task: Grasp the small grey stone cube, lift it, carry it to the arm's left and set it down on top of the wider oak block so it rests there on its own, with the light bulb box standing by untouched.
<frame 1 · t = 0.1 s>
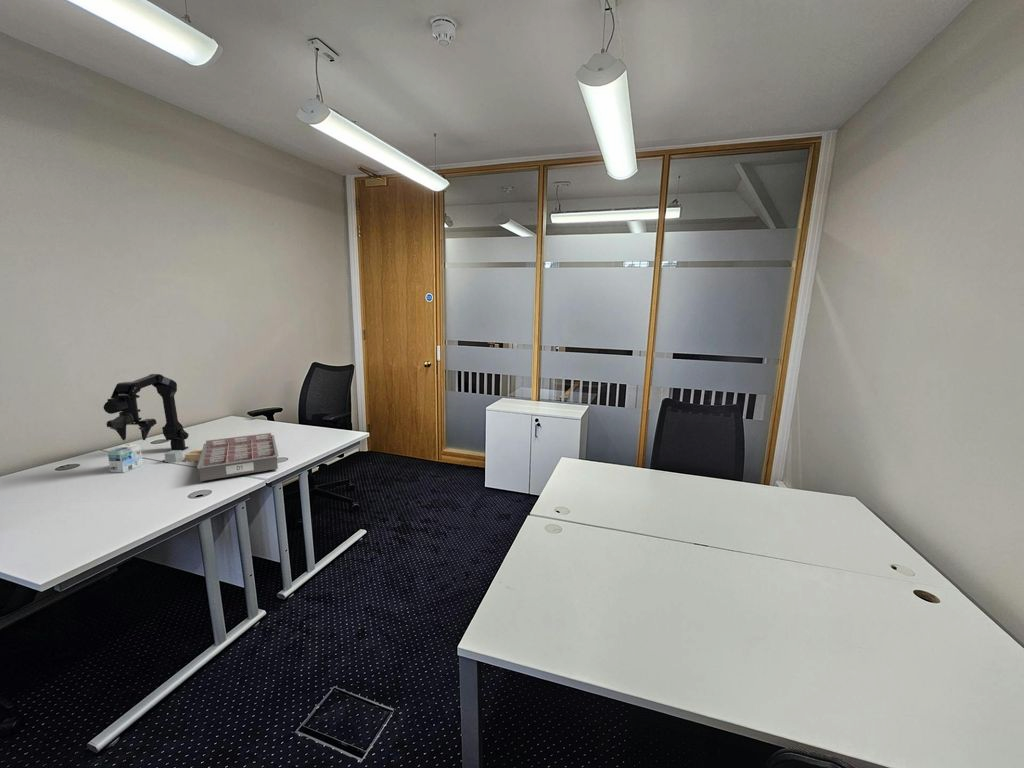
hand: (134, 440, 200), 15 cm above the table, fingers open, 9 cm apart
stone cube: (174, 461, 213), on the table
oak block: (199, 459, 217), on the table
light bulb box: (127, 469, 202), on the table
organizer tray: (241, 465, 210), on the table
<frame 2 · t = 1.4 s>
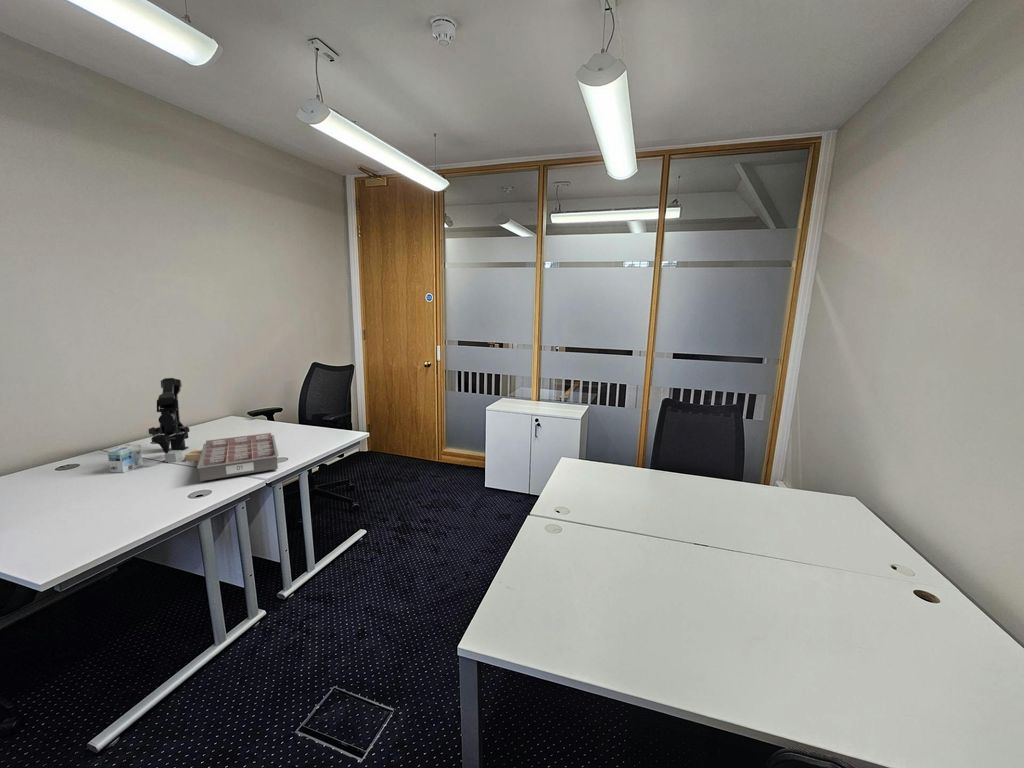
hand: (173, 450, 212), 6 cm above the table, fingers open, 9 cm apart
nothing on the table moved.
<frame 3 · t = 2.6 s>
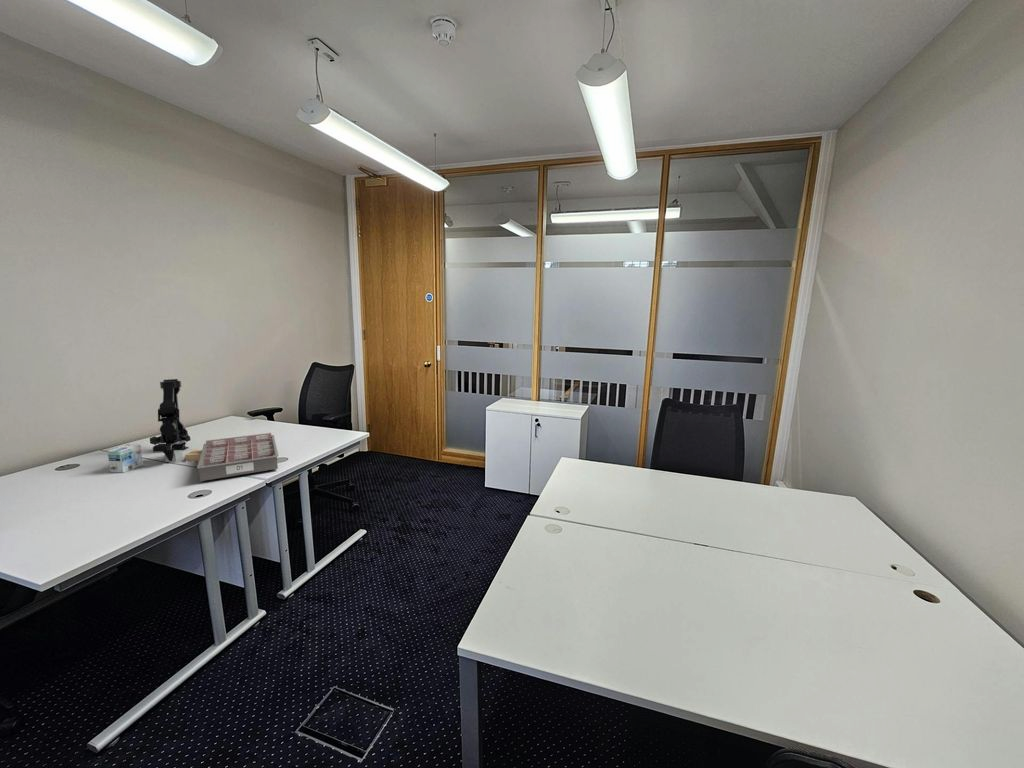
hand: (174, 459, 213), 1 cm above the table, fingers closed on stone cube, 5 cm apart
stone cube: (174, 461, 213), on the table, touching gripper
everything else where it was.
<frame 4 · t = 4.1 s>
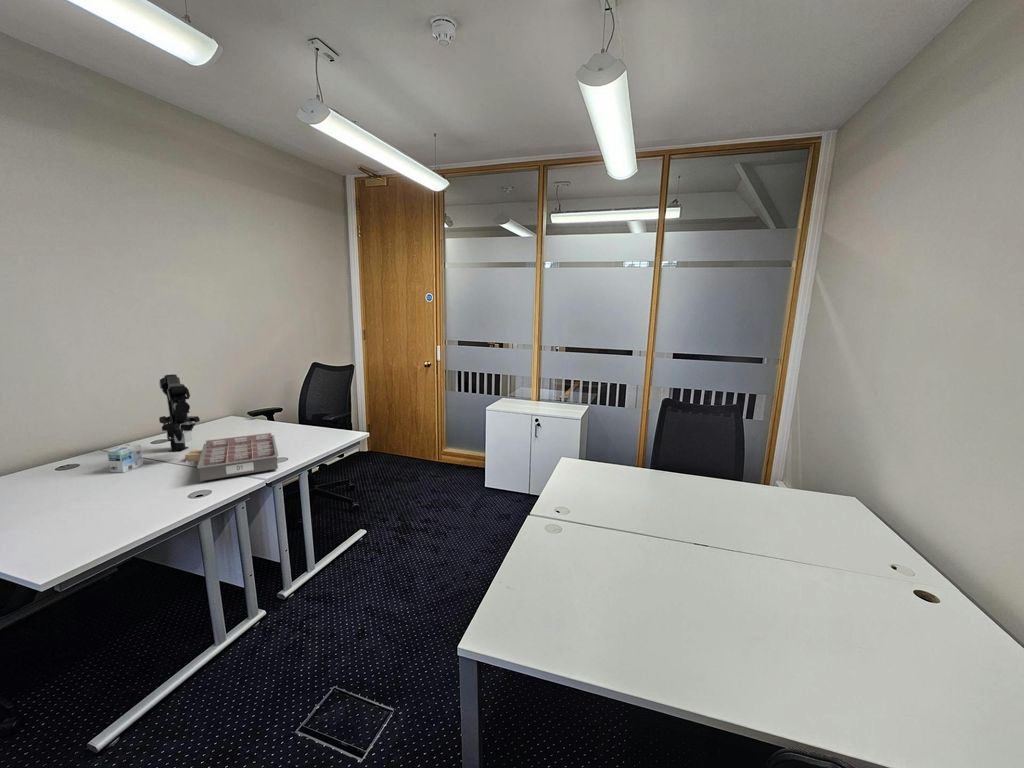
hand: (183, 439, 213), 11 cm above the table, fingers closed on stone cube, 5 cm apart
stone cube: (183, 441, 213), point 10 cm above the table, touching gripper
everything else where it was.
when the fingers open (6 cm above the table, at t = 5.7 s): stone cube drops 1 cm, point 4 cm above the table.
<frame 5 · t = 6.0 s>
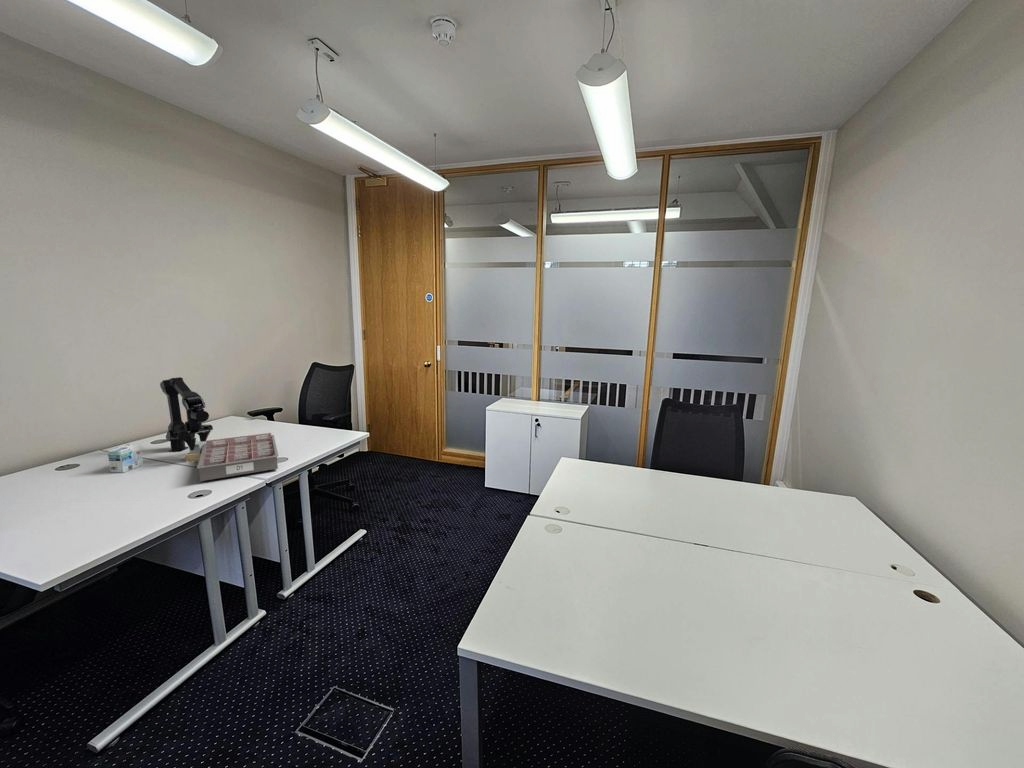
hand: (197, 447, 216), 6 cm above the table, fingers open, 8 cm apart
stone cube: (198, 452, 216), point 4 cm above the table
everything else where it was.
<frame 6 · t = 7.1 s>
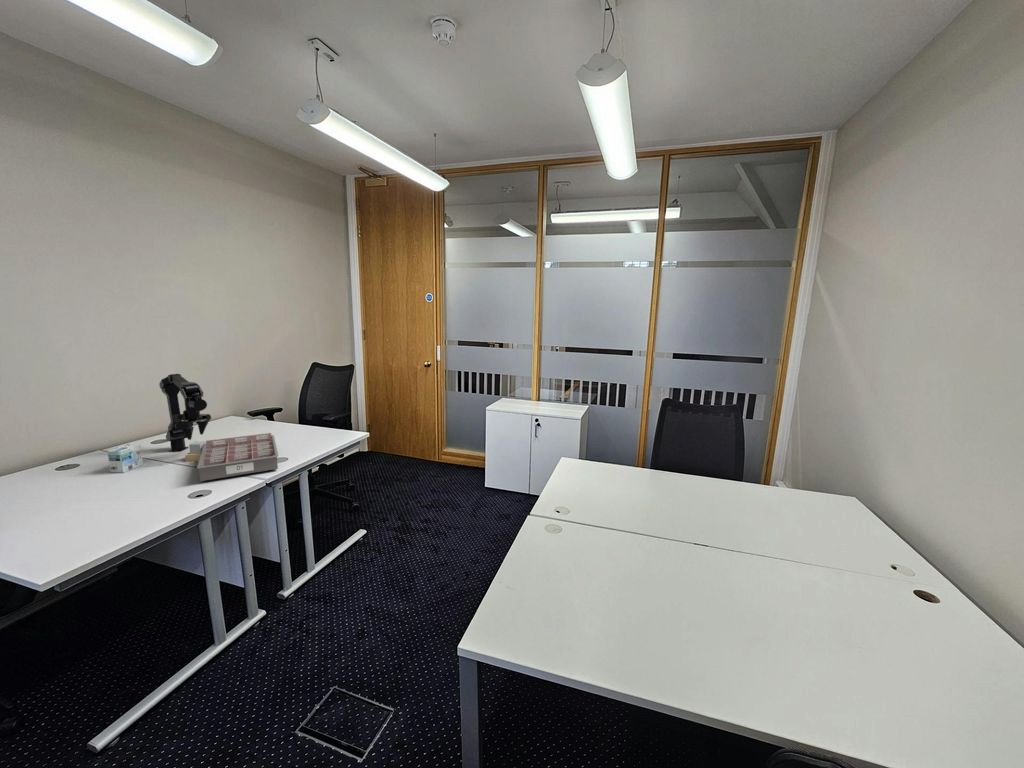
hand: (195, 437, 215), 12 cm above the table, fingers open, 9 cm apart
nothing on the table moved.
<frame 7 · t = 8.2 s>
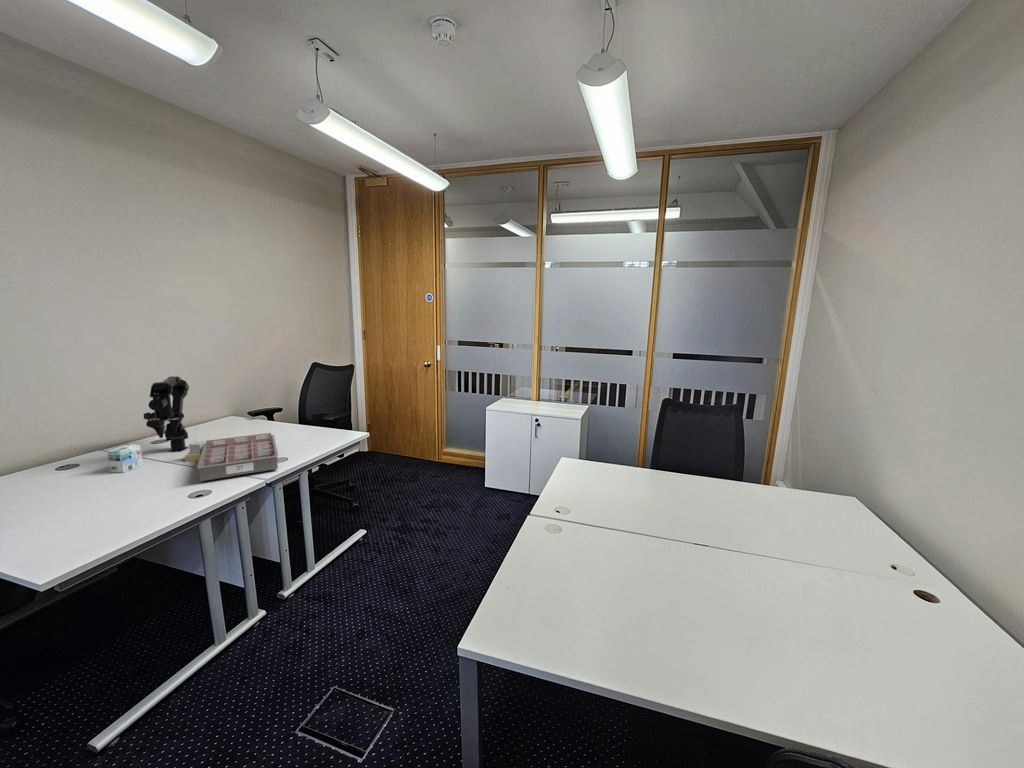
hand: (167, 435, 217), 12 cm above the table, fingers open, 9 cm apart
nothing on the table moved.
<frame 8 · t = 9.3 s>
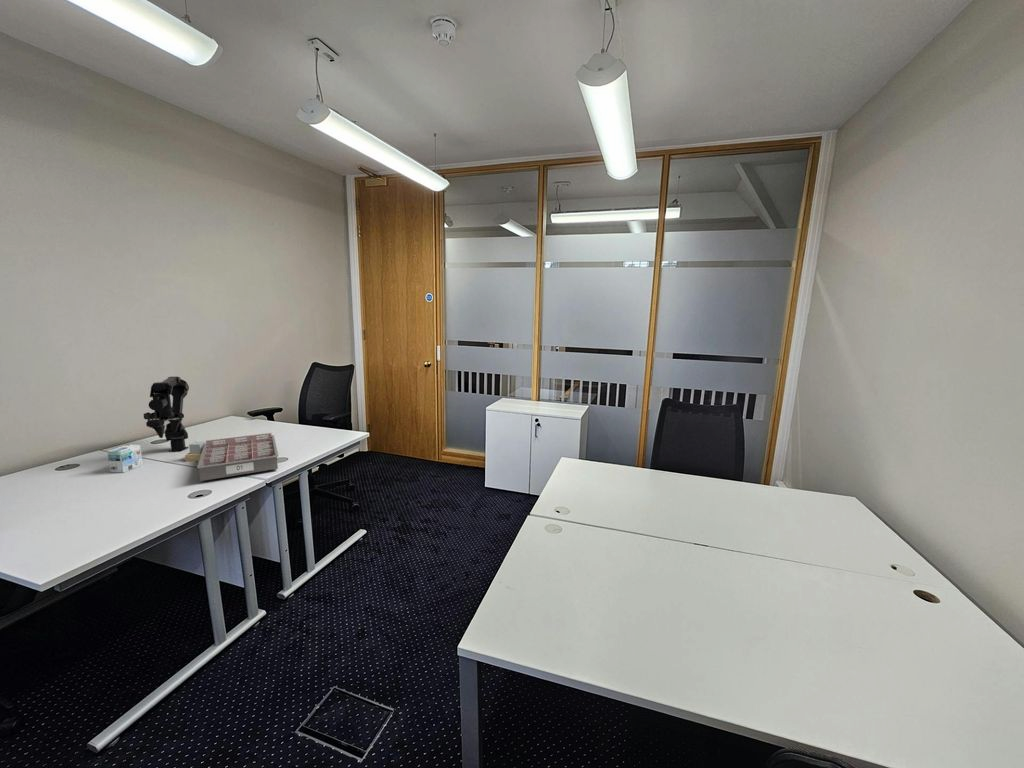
hand: (167, 435, 217), 12 cm above the table, fingers open, 9 cm apart
nothing on the table moved.
at the end: stone cube inside the target area on the oak block (0.1 cm from its centre), point 4.0 cm above the oak block's base; stone cube tilted 0°; the gripper is holding nothing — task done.
